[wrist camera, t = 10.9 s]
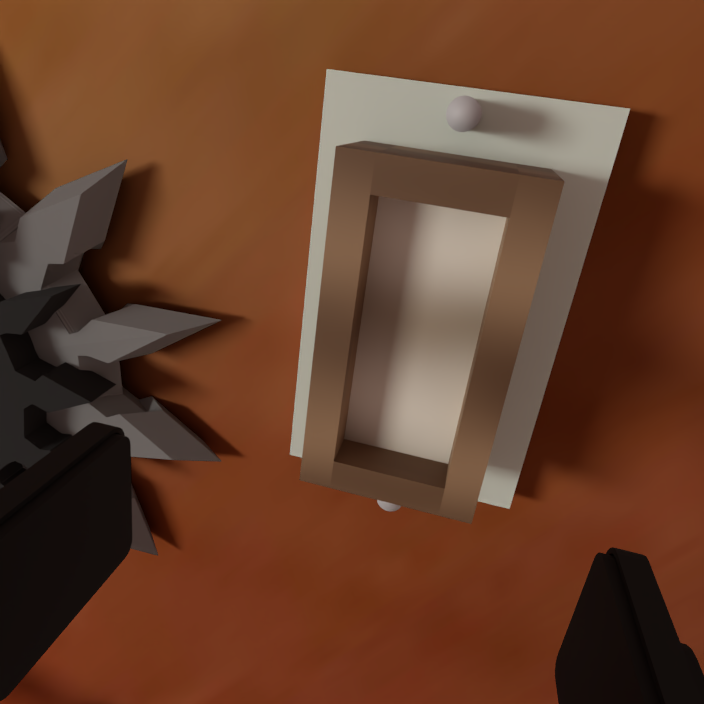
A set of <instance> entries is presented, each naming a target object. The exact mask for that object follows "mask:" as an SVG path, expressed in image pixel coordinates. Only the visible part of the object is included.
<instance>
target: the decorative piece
mask: <svg viewBox="0 0 704 704" xmlns="http://www.w3.org/2000/svg"><path fill="white" fill-rule="evenodd" d="M6 160H7V156H6V154H5V151H4V148H3V145H2V142H1V140H0V167H1V166H2V165H3V164H4V163H5V162H6ZM126 163H127V160H124V161H122V162H119V163H117V164H114V165H112V166H109V167H107V168H105V169H102V170H100V171H97V172H95V173H92V174H90V175H87V176H85V177H82V178H80V179H77V180H75V181H72V182H70V183H67V184H65V185H63V186H60V187H58V188H56V189H54V190H53V191H52V192H51V193H49V194H48V195H47V196H46V197H45V198H43V199H42V200H41V201H40V202H39V203H37V204H36V205H35V206H34V207H33V208H31V209H30V210H29V211H28V212H26V213H25V212H24V211H23V210H22V209H21V208H19V207H18V206H17V205H16V204H14V203H13V202H12V201H11V200H10V199H8V198H7V197H6V196H5V195H3V194H2V193H1V192H0V489H1V488H2V487H4V486H5V485H6V484H8V483H9V482H10V481H12V480H13V479H15V478H16V477H17V476H19V475H20V474H21V473H23V472H24V471H25V470H27V469H28V468H30V467H31V466H32V465H34V464H35V463H36V462H38V461H39V460H41V459H42V458H43V457H45V456H46V455H47V454H49V453H50V452H51V451H53V450H54V449H56V448H57V447H58V446H60V445H61V444H62V443H64V442H65V441H66V440H68V439H69V438H71V437H72V436H73V435H75V434H76V433H77V432H79V431H80V430H82V429H83V428H84V427H86V426H87V425H88V424H90V423H92V422H99V423H103V424H107V425H111V426H115V427H119V428H121V429H123V431H124V435H125V436H126V437H128V438H129V439H130V444H131V457H143V458H156V459H168V460H192V461H221V460H220V459H219V458H218V457H217V456H216V454H215V453H214V452H213V451H212V450H211V449H210V448H209V447H208V446H207V444H206V443H205V442H204V441H203V440H202V439H201V438H199V437H198V436H197V435H196V434H195V433H194V432H192V431H191V430H190V429H189V428H188V427H187V426H186V425H184V424H183V423H182V422H181V421H180V420H179V419H177V418H176V417H175V416H174V415H173V414H172V413H170V412H169V411H168V410H167V409H166V408H165V407H164V406H162V405H161V404H160V403H159V402H158V401H157V400H155V399H154V398H153V397H152V396H151V397H147V398H143V399H140V400H139V399H137V398H136V397H135V396H134V395H133V394H131V393H130V392H129V391H128V390H126V389H125V388H124V387H123V386H122V381H121V372H120V363H119V361H121V360H125V359H130V358H134V357H138V356H143V355H147V354H151V353H154V352H156V351H158V350H160V349H162V348H164V347H166V346H168V345H171V344H173V343H175V342H177V341H179V340H181V339H183V338H185V337H187V336H190V335H192V334H194V333H196V332H198V331H200V330H202V329H204V328H206V327H208V326H211V325H213V324H215V323H217V322H219V321H221V320H219V319H214V318H209V317H203V316H198V315H192V314H187V313H181V312H176V311H171V310H165V309H160V308H154V307H149V306H143V305H138V304H126V305H125V306H124V307H123V308H122V309H120V310H118V311H115V312H112V313H109V314H107V315H105V313H104V312H103V310H102V309H101V307H100V305H99V304H98V302H97V300H96V299H95V297H94V295H93V294H92V292H91V291H90V289H89V287H88V286H87V284H86V282H85V281H84V279H83V277H82V276H81V274H80V273H79V267H80V264H81V261H82V258H83V255H84V252H86V251H87V250H89V249H101V248H102V246H103V243H104V241H105V238H106V235H107V231H108V227H109V224H110V220H111V217H112V213H113V209H114V206H115V202H116V199H117V195H118V191H119V188H120V184H121V181H122V177H123V173H124V170H125V166H126ZM131 493H132V544H131V549H135V550H139V551H143V552H147V553H150V554H154V555H158V553H157V550H156V547H155V544H154V540H153V537H152V534H151V531H150V528H149V525H148V523H147V520H146V518H145V516H144V513H143V511H142V508H141V506H140V503H139V501H138V498H137V496H136V494H135V491H134V489H133V486H132V484H131Z"/></svg>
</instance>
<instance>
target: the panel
mask: <svg viewBox="0 0 704 704" xmlns="http://www.w3.org/2000/svg"><path fill="white" fill-rule="evenodd" d="M629 111H630V109H628V108H621V107H613V106H605V105H598V104H590V103H582V102H575V101H567V100H559V99H552V98H544V97H537V96H529V95H521V94H514V93H506V92H498V91H491V90H483V89H476V88H468V87H460V86H453V85H445V84H437V83H430V82H422V81H414V80H407V79H399V78H392V77H384V76H376V75H369V74H361V73H353V72H346V71H338V70H331V69H327V72H326V83H325V93H324V104H323V114H322V125H321V135H320V145H319V156H318V166H317V177H316V187H315V198H314V208H313V218H312V229H311V239H310V250H309V260H308V271H307V281H306V291H305V302H304V312H303V323H302V333H301V344H300V354H299V365H298V375H297V385H296V396H295V406H294V417H293V427H292V438H291V448H290V455H293V456H297V457H301V458H302V453H303V444H304V435H305V426H306V417H307V407H308V398H309V389H310V380H311V370H312V361H313V352H314V343H315V333H316V324H317V315H318V306H319V297H320V287H321V278H322V269H323V260H324V250H325V241H326V232H327V223H328V214H329V204H330V195H331V186H332V177H333V167H334V158H335V149H336V146H339V145H344V144H349V143H354V142H359V141H371V142H377V143H384V144H391V145H397V146H404V147H410V148H417V149H424V150H430V151H437V152H443V153H450V154H456V155H463V156H470V157H476V158H483V159H489V160H496V161H503V162H509V163H516V164H522V165H529V166H535V167H542V168H549V169H552V170H553V171H554V172H555V173H556V174H557V175H558V176H559V177H561V178H562V179H563V180H564V181H565V182H564V186H563V189H562V193H561V197H560V200H559V204H558V208H557V211H556V215H555V219H554V222H553V226H552V230H551V233H550V237H549V241H548V244H547V248H546V252H545V255H544V259H543V263H542V266H541V270H540V274H539V277H538V281H537V285H536V288H535V292H534V296H533V299H532V303H531V307H530V310H529V314H528V318H527V321H526V325H525V329H524V332H523V336H522V340H521V343H520V347H519V351H518V354H517V358H516V362H515V365H514V369H513V373H512V376H511V380H510V384H509V387H508V391H507V395H506V398H505V402H504V406H503V409H502V413H501V417H500V420H499V424H498V428H497V431H496V435H495V439H494V442H493V446H492V450H491V453H490V457H489V461H488V464H487V468H486V472H485V475H484V479H483V483H482V486H481V490H480V494H479V497H478V501H479V502H483V503H487V504H492V505H496V506H500V507H504V508H508V509H510V505H511V502H512V499H513V496H514V492H515V489H516V486H517V482H518V479H519V476H520V472H521V469H522V466H523V462H524V459H525V456H526V452H527V449H528V446H529V443H530V439H531V436H532V433H533V429H534V426H535V423H536V419H537V416H538V413H539V409H540V406H541V403H542V399H543V396H544V393H545V390H546V386H547V383H548V380H549V376H550V373H551V370H552V366H553V363H554V360H555V356H556V353H557V350H558V346H559V343H560V340H561V337H562V333H563V330H564V327H565V323H566V320H567V317H568V313H569V310H570V307H571V303H572V300H573V297H574V294H575V290H576V287H577V284H578V280H579V277H580V274H581V270H582V267H583V264H584V260H585V257H586V254H587V250H588V247H589V244H590V241H591V237H592V234H593V231H594V227H595V224H596V221H597V217H598V214H599V211H600V207H601V204H602V201H603V197H604V194H605V191H606V188H607V184H608V181H609V178H610V174H611V171H612V168H613V164H614V161H615V158H616V154H617V151H618V148H619V145H620V141H621V138H622V135H623V131H624V128H625V125H626V121H627V118H628V115H629ZM377 502H378V504H379V506H380V507H381V508H382V509H384V510H386V511H396V510H398V509H399V508H400V507H401V506H399V505H395V504H392V503H388V502H384V501H380V500H377Z"/></svg>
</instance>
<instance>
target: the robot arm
mask: <svg viewBox="0 0 704 704" xmlns="http://www.w3.org/2000/svg"><path fill="white" fill-rule="evenodd" d="M131 544H132V493H131V444H130V439H129V438H128V437H126V436H125V435H124V431H123V429H121V428H119V427H115V426H111V425H107V424H103V423H99V422H92V423H90V424H88V425H87V426H86V427H84V428H83V429H82V430H80V431H79V432H77V433H76V434H75V435H73V436H72V437H71V438H69V439H68V440H66V441H65V442H64V443H62V444H61V445H60V446H58V447H57V448H56V449H54V450H53V451H51V452H50V453H49V454H47V455H46V456H45V457H43V458H42V459H41V460H39V461H38V462H36V463H35V464H34V465H32V466H31V467H30V468H28V469H27V470H25V471H24V472H23V473H21V474H20V475H19V476H17V477H16V478H15V479H13V480H12V481H10V482H9V483H8V484H6V485H5V486H4V487H2V488H1V489H0V701H1V700H3V699H4V698H6V697H7V696H8V695H9V694H10V693H11V692H12V690H13V689H14V688H15V687H16V686H17V685H18V683H19V682H20V681H21V680H22V679H23V678H24V676H25V675H26V674H27V673H28V672H29V670H30V669H31V668H32V667H33V666H34V665H35V663H36V662H37V661H38V660H39V659H40V658H41V656H42V655H43V654H44V653H45V652H46V650H47V649H48V648H49V647H50V646H51V645H52V643H53V642H54V641H55V640H56V639H57V637H58V636H59V635H60V634H61V633H62V632H63V630H64V629H65V628H66V627H67V626H68V625H69V623H70V622H71V621H72V620H73V619H74V617H75V616H76V615H77V614H78V613H79V612H80V610H81V609H82V608H83V607H84V606H85V604H86V603H87V602H88V601H89V600H90V599H91V597H92V596H93V595H94V594H95V593H96V592H97V590H98V589H99V588H100V587H101V586H102V584H103V583H104V582H105V581H106V580H107V579H108V577H109V576H110V575H111V574H112V573H113V571H114V570H115V569H116V568H117V567H118V566H119V564H120V563H121V562H122V561H123V560H124V559H125V557H126V556H127V554H128V552H129V550H130V548H131ZM555 679H556V687H557V694H558V702H559V704H704V675H703V673H702V670H701V668H700V665H699V663H698V660H697V658H696V656H695V654H694V653H693V651H692V649H691V648H690V647H689V646H687V645H686V644H682V643H680V641H679V638H678V636H677V633H676V630H675V628H674V625H673V623H672V620H671V618H670V615H669V612H668V610H667V607H666V605H665V602H664V600H663V597H662V594H661V592H660V589H659V587H658V584H657V581H656V579H655V576H654V574H653V571H652V569H651V566H650V563H649V561H648V559H647V557H646V556H644V555H642V554H638V553H633V552H629V551H625V550H621V549H617V548H610V549H609V550H608V551H607V553H606V554H603V553H598V554H597V555H596V556H595V558H594V561H593V564H592V566H591V569H590V571H589V574H588V577H587V579H586V582H585V585H584V587H583V590H582V592H581V595H580V598H579V600H578V603H577V606H576V608H575V611H574V614H573V616H572V619H571V621H570V624H569V627H568V629H567V632H566V635H565V637H564V640H563V643H562V645H561V648H560V650H559V653H558V656H557V660H556V667H555Z"/></svg>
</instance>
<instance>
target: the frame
mask: <svg viewBox="0 0 704 704" xmlns="http://www.w3.org/2000/svg"><path fill="white" fill-rule="evenodd" d="M564 182H565V181H564V180H563V179H562V178H561V177H559V176H558V175H557V174H556V173H555V172H554V171H553V170H552V169H549V168H542V167H535V166H529V165H522V164H516V163H509V162H503V161H496V160H489V159H483V158H476V157H470V156H463V155H456V154H450V153H443V152H437V151H430V150H424V149H417V148H410V147H404V146H397V145H391V144H384V143H377V142H371V141H359V142H354V143H349V144H344V145H339V146H336V149H335V158H334V167H333V177H332V186H331V195H330V204H329V214H328V223H327V232H326V241H325V250H324V260H323V269H322V278H321V287H320V297H319V306H318V315H317V324H316V333H315V343H314V352H313V361H312V370H311V380H310V389H309V398H308V407H307V417H306V426H305V435H304V444H303V453H302V463H301V472H300V480H301V481H305V482H309V483H313V484H317V485H321V486H325V487H329V488H333V489H337V490H341V491H344V492H348V493H352V494H356V495H360V496H364V497H368V498H372V499H376V500H380V501H384V502H388V503H392V504H395V505H399V506H403V507H407V508H411V509H415V510H419V511H423V512H427V513H431V514H435V515H439V516H442V517H446V518H450V519H454V520H458V521H462V522H466V523H470V524H471V523H472V519H473V516H474V512H475V508H476V505H477V501H478V497H479V494H480V490H481V486H482V483H483V479H484V475H485V472H486V468H487V464H488V461H489V457H490V453H491V450H492V446H493V442H494V439H495V435H496V431H497V428H498V424H499V420H500V417H501V413H502V409H503V406H504V402H505V398H506V395H507V391H508V387H509V384H510V380H511V376H512V373H513V369H514V365H515V362H516V358H517V354H518V351H519V347H520V343H521V340H522V336H523V332H524V329H525V325H526V321H527V318H528V314H529V310H530V307H531V303H532V299H533V296H534V292H535V288H536V285H537V281H538V277H539V274H540V270H541V266H542V263H543V259H544V255H545V252H546V248H547V244H548V241H549V237H550V233H551V230H552V226H553V222H554V219H555V215H556V211H557V208H558V204H559V200H560V197H561V193H562V189H563V186H564Z"/></svg>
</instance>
